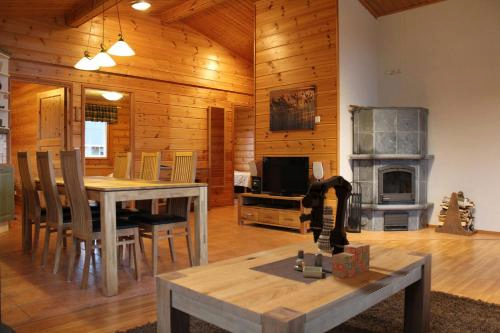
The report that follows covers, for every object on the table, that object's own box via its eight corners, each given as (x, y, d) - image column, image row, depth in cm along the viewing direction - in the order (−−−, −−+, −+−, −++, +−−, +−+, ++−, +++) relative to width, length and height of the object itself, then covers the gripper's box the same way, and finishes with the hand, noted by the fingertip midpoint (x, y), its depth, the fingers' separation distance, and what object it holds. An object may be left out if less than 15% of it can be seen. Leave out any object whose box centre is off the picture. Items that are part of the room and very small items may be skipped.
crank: (303, 266, 200) (303, 255, 200) (296, 266, 200) (296, 255, 200) (304, 261, 211) (304, 250, 210) (297, 260, 211) (297, 250, 211)
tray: (321, 272, 196) (321, 267, 196) (321, 277, 188) (321, 272, 188) (303, 271, 197) (303, 266, 197) (302, 276, 189) (302, 270, 189)
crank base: (306, 268, 204) (306, 259, 204) (305, 271, 198) (306, 262, 198) (293, 267, 205) (293, 259, 205) (292, 270, 199) (292, 262, 199)
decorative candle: (317, 248, 249) (317, 205, 249) (333, 249, 248) (334, 205, 247) (317, 251, 240) (317, 206, 240) (334, 252, 239) (334, 207, 238)
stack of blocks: (343, 278, 187) (344, 250, 187) (331, 275, 192) (332, 248, 191) (369, 270, 202) (370, 244, 202) (357, 267, 207) (358, 242, 206)
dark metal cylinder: (322, 268, 204) (322, 253, 204) (322, 270, 201) (322, 255, 200) (314, 267, 205) (314, 253, 205) (314, 269, 201) (314, 254, 201)
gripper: (302, 206, 214) (300, 238, 214) (299, 207, 196) (297, 242, 195) (324, 208, 212) (322, 240, 212) (324, 209, 194) (322, 244, 193)
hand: (315, 241), depth 203 cm, fingers open, 9 cm apart
